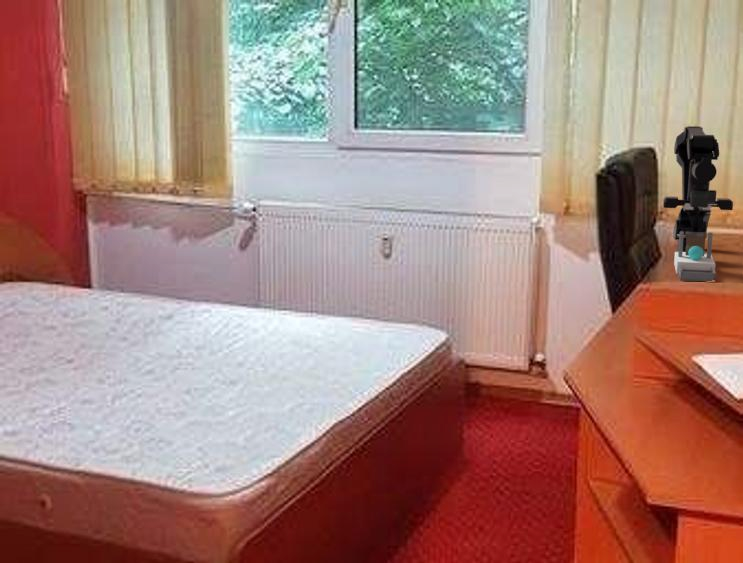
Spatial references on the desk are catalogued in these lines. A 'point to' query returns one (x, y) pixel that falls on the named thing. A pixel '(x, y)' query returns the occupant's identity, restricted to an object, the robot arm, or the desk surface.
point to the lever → (695, 240)
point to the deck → (689, 263)
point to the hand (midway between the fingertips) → (695, 233)
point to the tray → (697, 275)
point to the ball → (695, 252)
